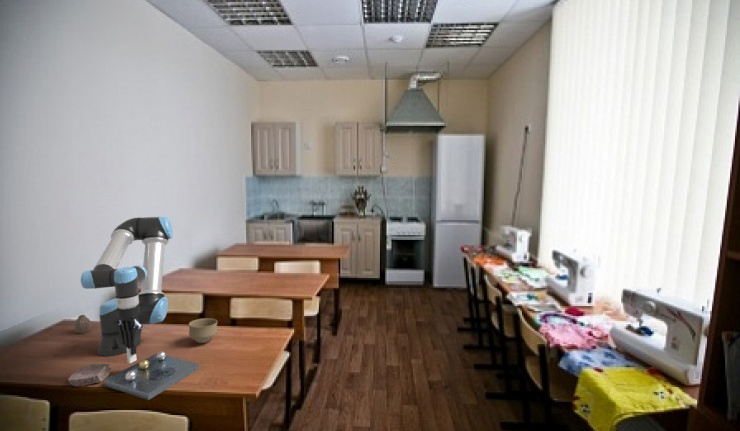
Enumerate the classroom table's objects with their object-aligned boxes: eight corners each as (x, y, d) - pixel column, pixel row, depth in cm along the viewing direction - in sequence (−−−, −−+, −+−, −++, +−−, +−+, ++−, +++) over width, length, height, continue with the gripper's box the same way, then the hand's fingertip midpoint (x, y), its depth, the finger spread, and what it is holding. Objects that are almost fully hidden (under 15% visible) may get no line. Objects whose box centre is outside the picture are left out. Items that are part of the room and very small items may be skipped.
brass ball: (137, 370, 142) (136, 361, 141) (145, 365, 145) (145, 357, 145) (143, 371, 141) (142, 363, 140) (151, 367, 144) (151, 359, 143)
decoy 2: (123, 381, 134) (122, 373, 133) (132, 376, 137) (131, 368, 137) (129, 383, 133) (129, 374, 132) (138, 378, 136) (138, 370, 135)
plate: (104, 385, 135) (104, 379, 135) (157, 358, 156) (157, 353, 156) (148, 400, 127) (148, 393, 126) (198, 369, 147) (198, 363, 147)
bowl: (223, 339, 174) (222, 319, 173) (199, 350, 163) (198, 329, 162) (208, 333, 181) (207, 314, 180) (184, 343, 170) (183, 323, 169)
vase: (71, 334, 180) (69, 317, 179) (83, 328, 187) (82, 312, 186) (82, 335, 179) (80, 318, 178) (95, 329, 186) (93, 313, 185)
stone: (81, 375, 143) (80, 364, 143) (112, 373, 145) (112, 362, 144) (65, 388, 134) (64, 376, 134) (99, 386, 136) (98, 374, 135)
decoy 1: (154, 361, 149) (154, 353, 148) (162, 357, 152) (161, 349, 152) (160, 362, 147) (160, 354, 147) (168, 358, 151) (167, 350, 150)
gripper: (107, 307, 141) (112, 363, 144) (129, 311, 137) (134, 369, 139) (126, 301, 148) (130, 354, 151) (148, 305, 144) (151, 360, 146)
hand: (132, 361), depth 145 cm, fingers closed
